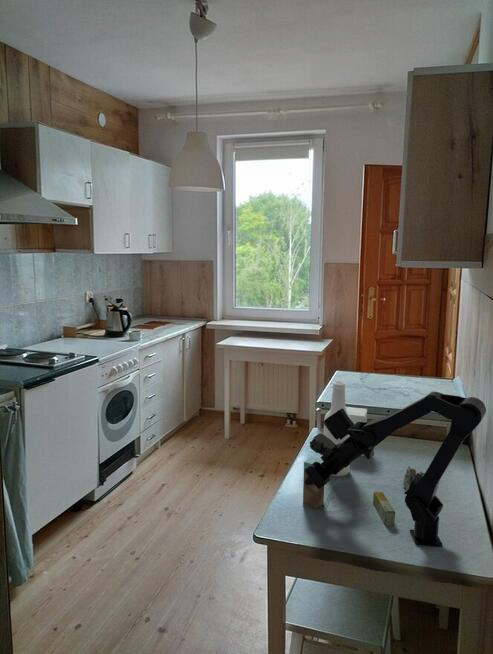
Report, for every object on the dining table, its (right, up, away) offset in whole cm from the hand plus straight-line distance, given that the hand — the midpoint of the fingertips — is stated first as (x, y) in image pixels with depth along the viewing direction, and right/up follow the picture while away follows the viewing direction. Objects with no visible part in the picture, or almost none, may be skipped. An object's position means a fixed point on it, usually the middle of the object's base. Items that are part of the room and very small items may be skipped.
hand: (309, 480), depth 145 cm
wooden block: (+1, -7, 0) cm, 7 cm away
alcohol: (+11, -4, +22) cm, 25 cm away
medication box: (+20, -8, -5) cm, 22 cm away
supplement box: (+20, -1, +39) cm, 44 cm away
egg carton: (+35, -6, +12) cm, 37 cm away
